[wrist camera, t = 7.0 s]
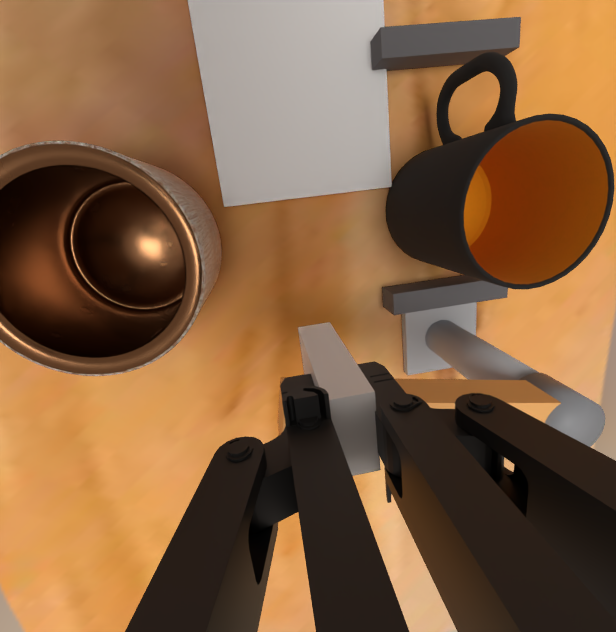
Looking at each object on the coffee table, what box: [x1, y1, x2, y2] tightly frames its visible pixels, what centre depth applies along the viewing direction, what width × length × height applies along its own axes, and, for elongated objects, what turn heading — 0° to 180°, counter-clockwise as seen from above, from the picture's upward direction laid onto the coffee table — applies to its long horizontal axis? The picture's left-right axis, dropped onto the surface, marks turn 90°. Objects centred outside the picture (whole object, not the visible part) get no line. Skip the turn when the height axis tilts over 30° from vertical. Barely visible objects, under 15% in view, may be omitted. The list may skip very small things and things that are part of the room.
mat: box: [188, 0, 392, 207], centre depth 24 cm, size 16×12×1 cm
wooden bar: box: [278, 373, 605, 447], centre depth 18 cm, size 16×3×3 cm, turn 85°
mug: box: [386, 52, 614, 289], centre depth 22 cm, size 8×12×10 cm
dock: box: [370, 17, 539, 380], centre depth 23 cm, size 24×9×11 cm, turn 7°
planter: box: [0, 141, 222, 376], centre depth 21 cm, size 11×11×10 cm
